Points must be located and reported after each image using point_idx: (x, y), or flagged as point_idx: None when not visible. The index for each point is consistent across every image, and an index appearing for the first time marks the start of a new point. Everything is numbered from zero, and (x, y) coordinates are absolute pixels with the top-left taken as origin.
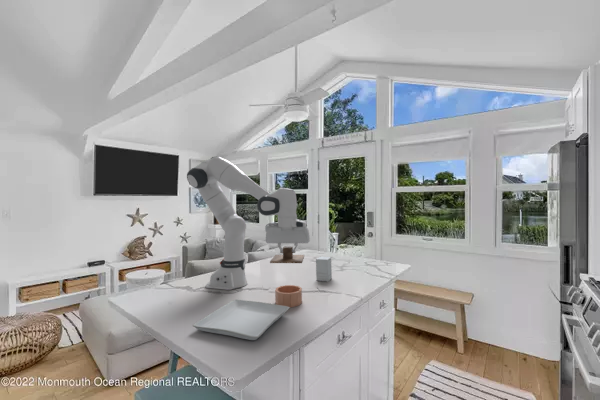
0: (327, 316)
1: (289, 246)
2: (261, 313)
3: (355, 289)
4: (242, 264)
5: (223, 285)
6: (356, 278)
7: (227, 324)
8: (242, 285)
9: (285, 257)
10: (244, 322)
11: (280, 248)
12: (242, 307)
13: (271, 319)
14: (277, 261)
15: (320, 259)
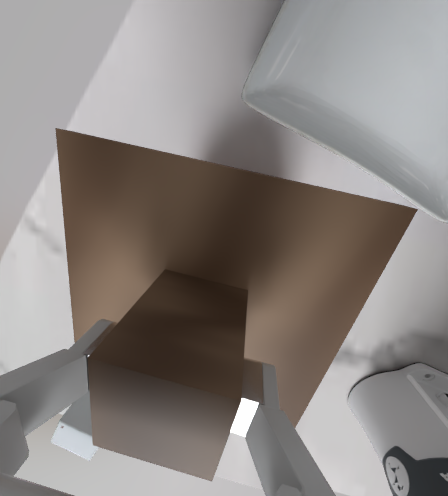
0: (116, 66)
1: (134, 449)
2: (349, 110)
3: (38, 280)
4: (413, 475)
5: (442, 391)
6: (39, 355)
7: None
8: (371, 380)
9: (222, 290)
10: (438, 17)
11: (276, 421)
12: (416, 176)
13: (320, 35)
14: (325, 188)
15: (85, 433)
